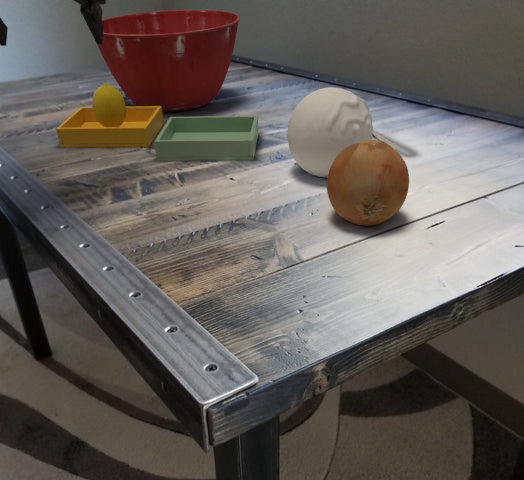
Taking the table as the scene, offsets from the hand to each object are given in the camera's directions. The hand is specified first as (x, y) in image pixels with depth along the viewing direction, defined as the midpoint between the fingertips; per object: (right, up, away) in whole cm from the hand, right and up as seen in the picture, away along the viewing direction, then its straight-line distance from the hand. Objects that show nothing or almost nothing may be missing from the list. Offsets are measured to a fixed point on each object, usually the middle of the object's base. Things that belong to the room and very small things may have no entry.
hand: (52, 36), depth 81 cm
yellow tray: (+3, -6, +22) cm, 23 cm away
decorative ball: (+39, -18, +5) cm, 43 cm away
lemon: (+3, -5, +22) cm, 23 cm away
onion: (+42, -28, -8) cm, 51 cm away
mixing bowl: (+11, +7, +39) cm, 41 cm away
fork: (+48, -7, +19) cm, 52 cm away
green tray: (+21, -10, +16) cm, 28 cm away
